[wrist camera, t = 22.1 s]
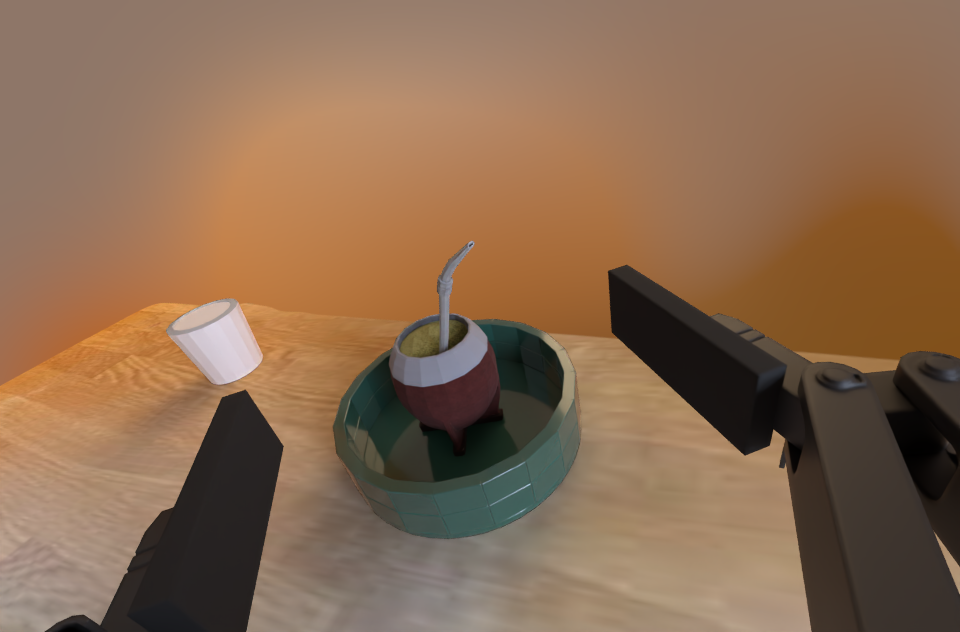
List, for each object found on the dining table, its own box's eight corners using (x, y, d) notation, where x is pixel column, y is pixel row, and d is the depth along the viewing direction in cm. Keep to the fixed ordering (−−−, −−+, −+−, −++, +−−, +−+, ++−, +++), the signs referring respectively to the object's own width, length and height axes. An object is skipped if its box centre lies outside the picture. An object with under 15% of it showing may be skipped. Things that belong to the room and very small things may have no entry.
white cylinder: (194, 379, 46) (155, 327, 42) (251, 343, 50) (220, 293, 46) (220, 396, 42) (179, 340, 38) (280, 355, 46) (248, 302, 42)
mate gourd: (422, 396, 34) (356, 223, 26) (517, 381, 33) (476, 197, 25) (408, 473, 28) (314, 274, 20) (524, 457, 27) (473, 242, 19)
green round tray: (311, 525, 26) (282, 484, 24) (406, 360, 40) (392, 324, 38) (577, 554, 22) (569, 505, 19) (583, 355, 35) (578, 313, 33)
